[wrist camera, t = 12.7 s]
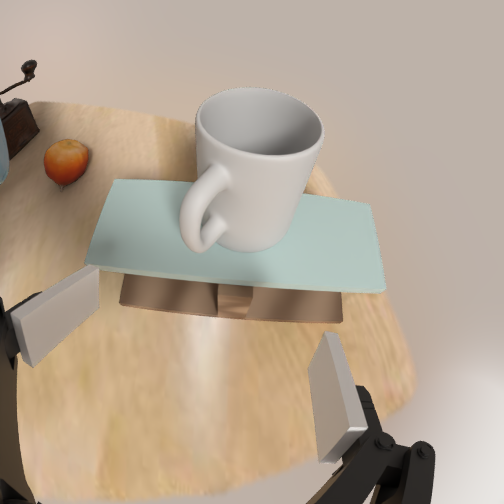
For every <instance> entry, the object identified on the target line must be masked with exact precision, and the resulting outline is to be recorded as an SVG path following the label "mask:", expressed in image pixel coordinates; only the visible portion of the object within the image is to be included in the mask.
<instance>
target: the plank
mask: <svg viewBox="0 0 504 504" xmlns="http://www.w3.org/2000/svg"><path fill="white" fill-rule="evenodd" d="M193 183H194V182H183V181H165V180H139V179H115V180H114V182H113V184H112V187H111V189H110V192H109V194H108V196H107V199H106V201H105V204H104V206H103V209H102V212H101V214H100V217H99V220H98V222H97V225H96V228H95V231H94V234H93V237H92V240H91V243H90V246H89V249H88V252H87V255H86V259H85V262H84V264H85V265H86V266H87V265H89V264H91V265H93V266H96V267H99V270H103V271H110V272H118V273H126V274H134V275H143V276H151V277H160V278H169V279H179V280H188V281H198V282H209V283H220V284H231V285H243V286H255V287H269V288H283V289H298V290H314V291H333V292H354V293H379V294H380V293H382V292H383V291H385V290H386V284H385V277H384V270H383V265H382V259H381V253H380V248H379V243H378V238H377V233H376V228H375V224H374V220H373V215H372V211H371V207H370V204H366V203H361V202H355V201H349V200H343V199H337V198H331V197H324V196H318V195H311V194H304V193H303V194H302V197H301V199H300V202H299V204H298V206H297V209H296V212H295V214H294V217H293V220H292V222H291V225H290V227H289V230H288V231H287V233H286V235H285V236H284V237H283V238H282V239H281V240H280V241H279V242H278V243H277V244H276V245H274V246H273V247H271V248H268V249H266V250H263V251H259V252H253V253H242V252H236V251H232V250H229V249H227V248H224V247H222V246H221V245H219V244H218V243H216V242H215V243H214V244H213V245H212V246H211V247H210V248H209V249H208V250H207V251H205V252H203V253H196V252H193V251H191V250H190V249H189V248H188V247H187V246H186V245H185V243H184V241H183V239H182V237H181V233H180V227H179V215H180V208H181V204H182V201H183V199H184V196H185V195H186V193H187V191H188V190H189V188H190V187H191V186H192V185H193ZM202 227H203V225H202V223H201V227H200V229H201V228H202Z"/></svg>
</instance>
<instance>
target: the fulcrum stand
mask: <svg viewBox="0 0 504 504" xmlns="http://www.w3.org/2000/svg"><path fill="white" fill-rule="evenodd" d="M119 303H120V304H121V305H123V306H129V307H136V308H142V309H150V310H157V311H165V312H173V313H181V314H190V315H199V316H209V317H220V318H232V319H245V320H260V321H278V322H302V323H341V322H343V313H342V299H341V292H333V291H314V290H298V289H283V288H269V287H255V286H243V285H231V284H220V283H209V282H198V281H188V280H179V279H169V278H160V277H151V276H143V275H134V274H126V273H125V277H124V281H123V286H122V291H121V296H120V301H119Z"/></svg>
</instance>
